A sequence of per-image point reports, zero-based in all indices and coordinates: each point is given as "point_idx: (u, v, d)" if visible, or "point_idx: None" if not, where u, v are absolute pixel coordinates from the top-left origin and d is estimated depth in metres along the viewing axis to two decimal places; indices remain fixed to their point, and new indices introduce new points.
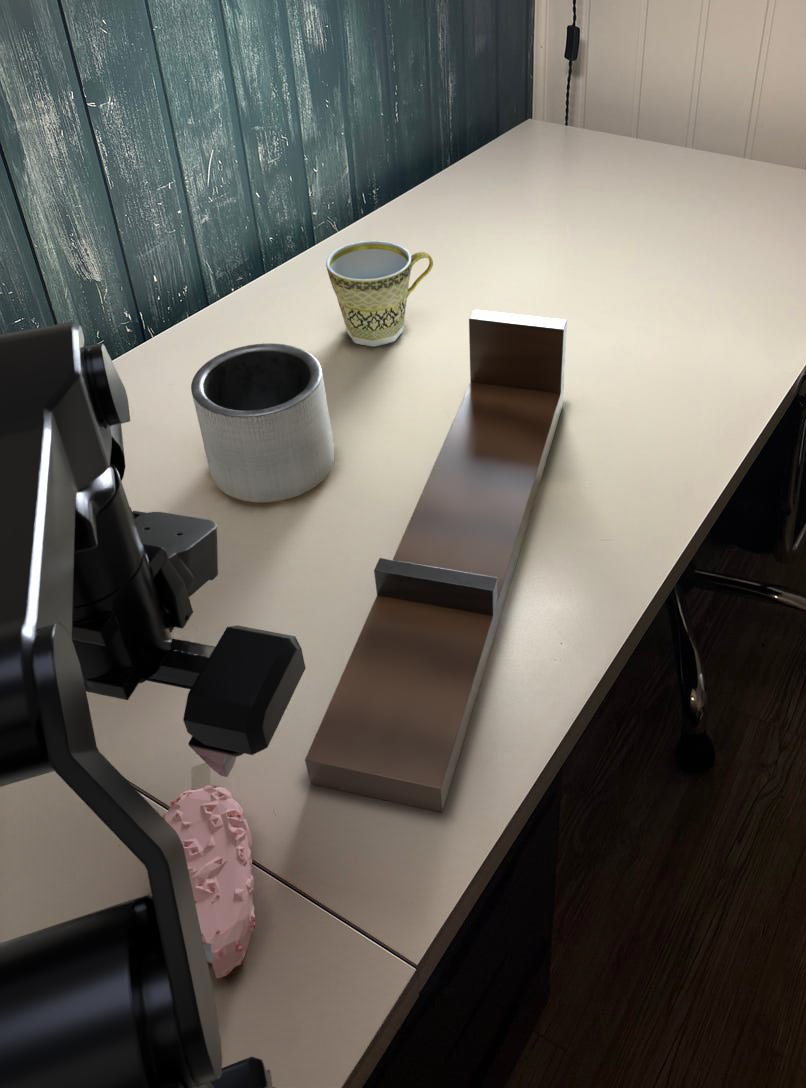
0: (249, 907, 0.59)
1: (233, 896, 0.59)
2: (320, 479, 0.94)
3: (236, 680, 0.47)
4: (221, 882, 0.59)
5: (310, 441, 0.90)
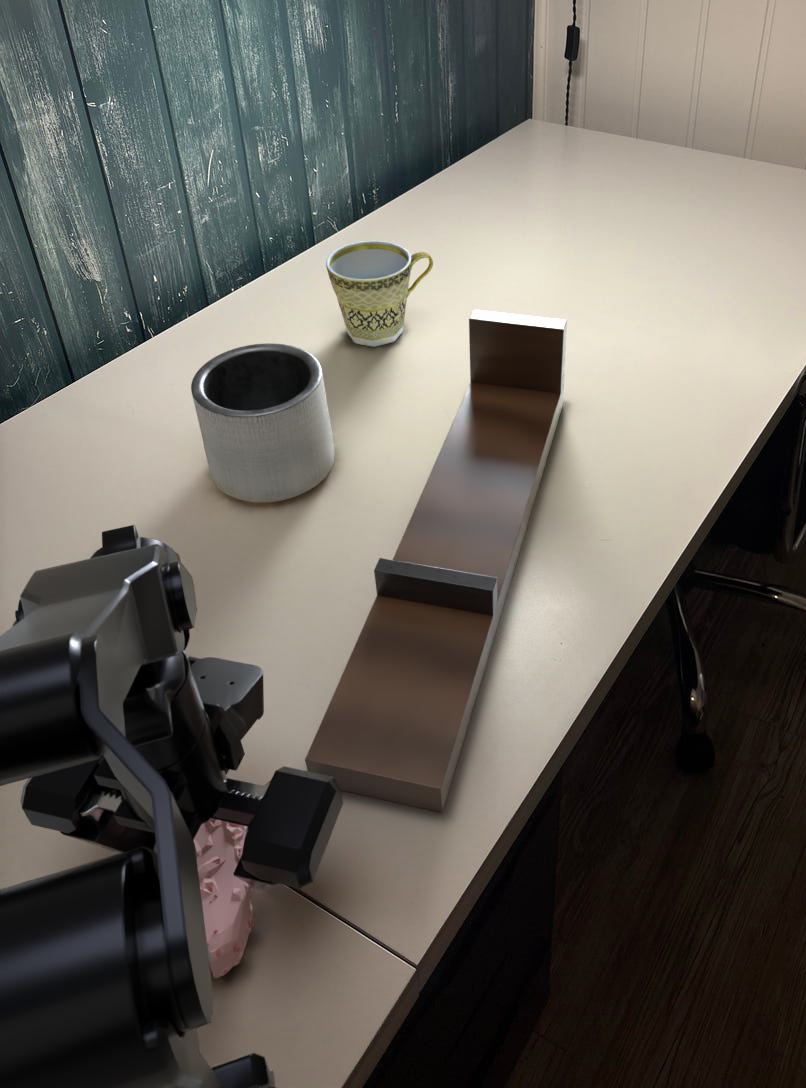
0: (247, 907, 0.59)
1: (231, 896, 0.59)
2: (320, 479, 0.94)
3: (285, 823, 0.55)
4: (219, 882, 0.59)
5: (310, 441, 0.90)
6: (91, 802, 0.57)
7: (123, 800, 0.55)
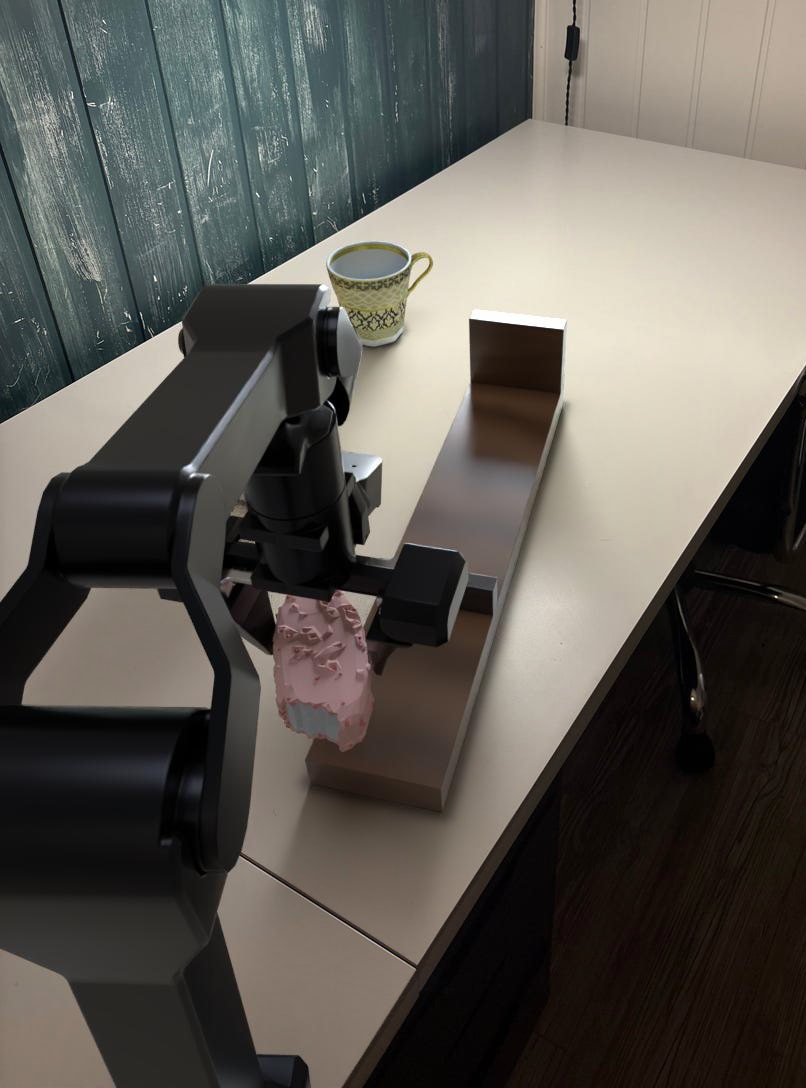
0: (370, 688, 0.60)
1: (356, 675, 0.59)
2: None
3: (421, 584, 0.55)
4: (342, 663, 0.60)
5: None
6: (223, 575, 0.58)
7: (258, 565, 0.56)
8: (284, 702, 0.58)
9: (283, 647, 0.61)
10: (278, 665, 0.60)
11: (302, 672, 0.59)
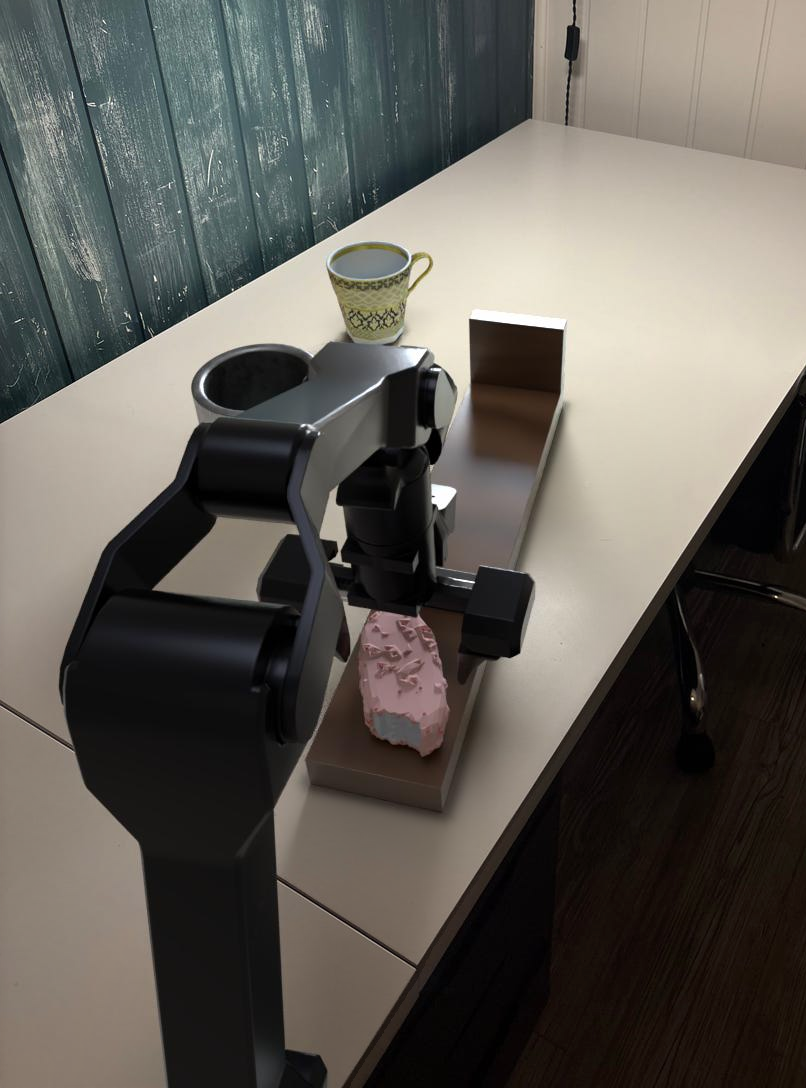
0: (445, 700, 0.68)
1: (434, 688, 0.67)
2: None
3: (497, 603, 0.63)
4: (421, 677, 0.68)
5: None
6: None
7: (352, 585, 0.64)
8: (371, 712, 0.66)
9: (369, 663, 0.69)
10: (365, 679, 0.68)
11: (387, 685, 0.67)
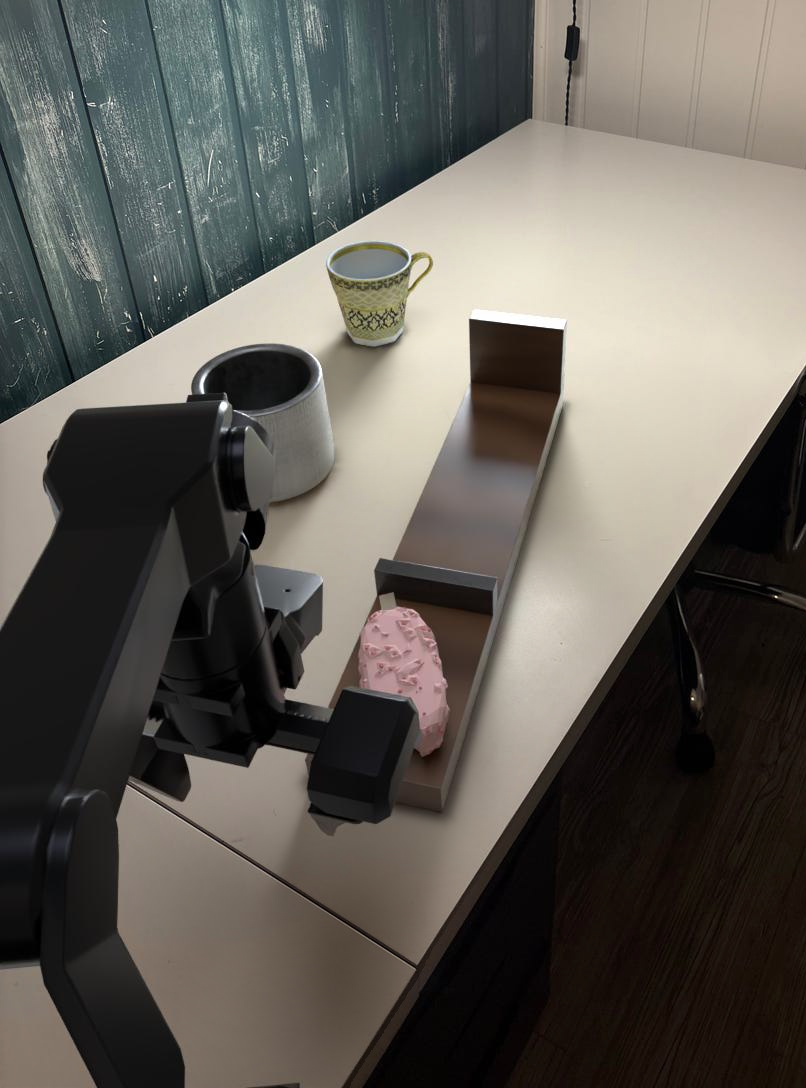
0: (445, 700, 0.68)
1: (434, 688, 0.67)
2: (320, 479, 0.94)
3: (359, 747, 0.46)
4: (421, 677, 0.68)
5: (310, 441, 0.90)
6: None
7: (164, 720, 0.47)
8: None
9: (368, 663, 0.69)
10: (365, 679, 0.68)
11: (387, 685, 0.67)
